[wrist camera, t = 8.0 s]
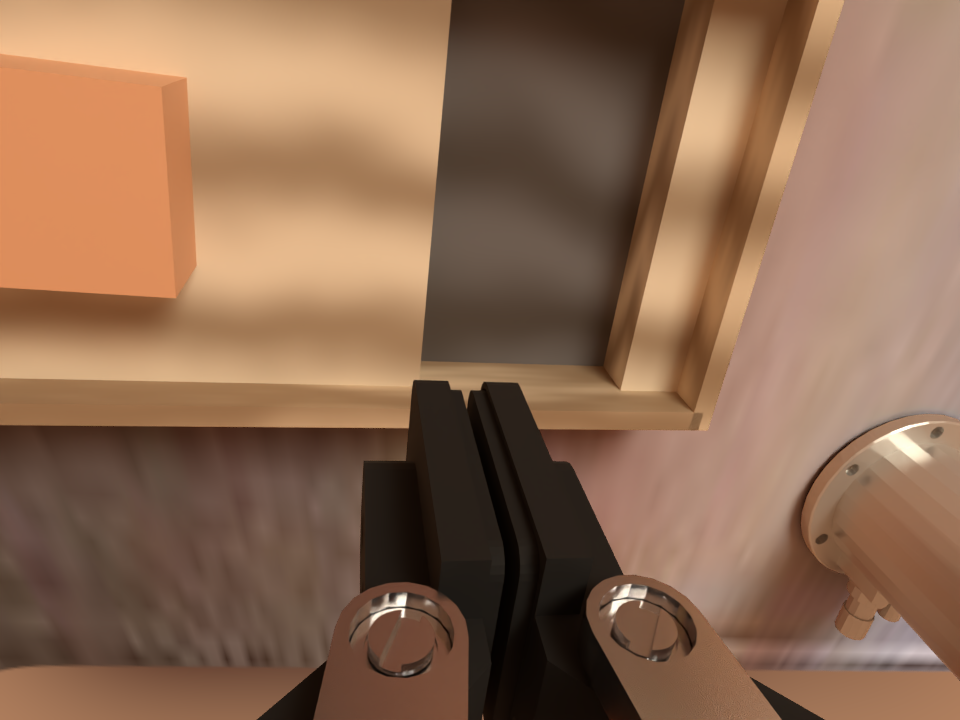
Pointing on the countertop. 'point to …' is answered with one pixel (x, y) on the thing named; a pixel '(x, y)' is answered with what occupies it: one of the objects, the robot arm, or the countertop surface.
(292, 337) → the trap box
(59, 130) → the terracotta block
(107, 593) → the countertop surface
